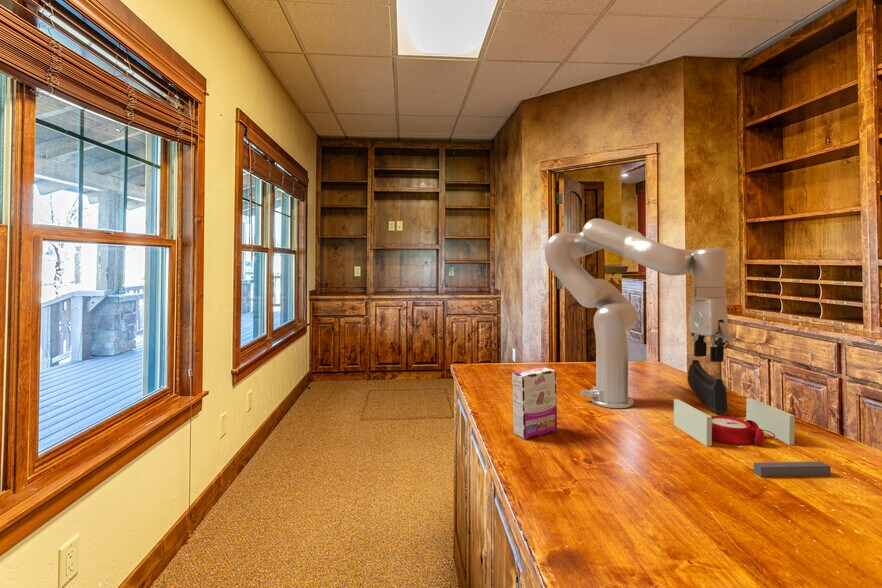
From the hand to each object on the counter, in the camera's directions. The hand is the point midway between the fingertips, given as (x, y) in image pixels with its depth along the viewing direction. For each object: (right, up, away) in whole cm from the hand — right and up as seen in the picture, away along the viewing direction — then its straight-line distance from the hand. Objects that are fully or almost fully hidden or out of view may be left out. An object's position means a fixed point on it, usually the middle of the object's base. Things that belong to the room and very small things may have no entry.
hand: (708, 358), depth 114 cm
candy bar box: (-49, -19, -5) cm, 52 cm away
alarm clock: (0, -19, -10) cm, 21 cm away
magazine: (+11, -17, +19) cm, 28 cm away
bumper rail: (-2, -19, -29) cm, 35 cm away
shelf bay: (0, -18, -8) cm, 20 cm away
